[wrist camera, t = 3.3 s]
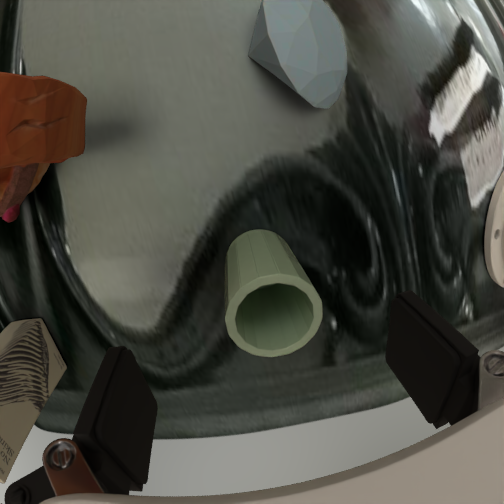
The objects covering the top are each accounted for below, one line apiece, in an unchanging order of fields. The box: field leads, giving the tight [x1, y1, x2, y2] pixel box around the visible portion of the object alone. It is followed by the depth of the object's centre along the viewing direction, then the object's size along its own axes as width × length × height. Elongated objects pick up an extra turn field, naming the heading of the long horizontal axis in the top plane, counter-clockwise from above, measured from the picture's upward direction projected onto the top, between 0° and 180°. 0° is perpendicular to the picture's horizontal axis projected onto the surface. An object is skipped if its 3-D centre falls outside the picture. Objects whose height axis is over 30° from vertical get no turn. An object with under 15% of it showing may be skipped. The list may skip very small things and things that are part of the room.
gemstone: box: [248, 0, 347, 109], centre depth 12 cm, size 8×8×5 cm
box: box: [0, 318, 67, 483], centre depth 13 cm, size 5×4×13 cm
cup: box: [225, 229, 323, 357], centre depth 15 cm, size 4×4×6 cm
